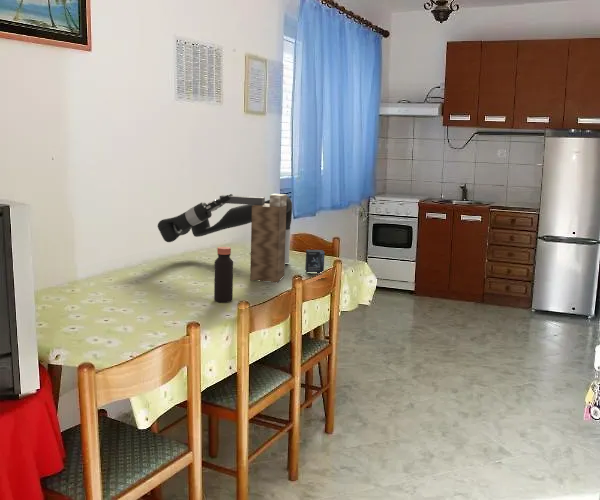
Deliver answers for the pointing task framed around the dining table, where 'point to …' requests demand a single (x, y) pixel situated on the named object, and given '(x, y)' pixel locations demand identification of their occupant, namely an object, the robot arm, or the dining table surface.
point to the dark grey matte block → (245, 200)
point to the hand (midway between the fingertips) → (230, 196)
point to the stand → (268, 239)
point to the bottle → (223, 276)
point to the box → (314, 261)
